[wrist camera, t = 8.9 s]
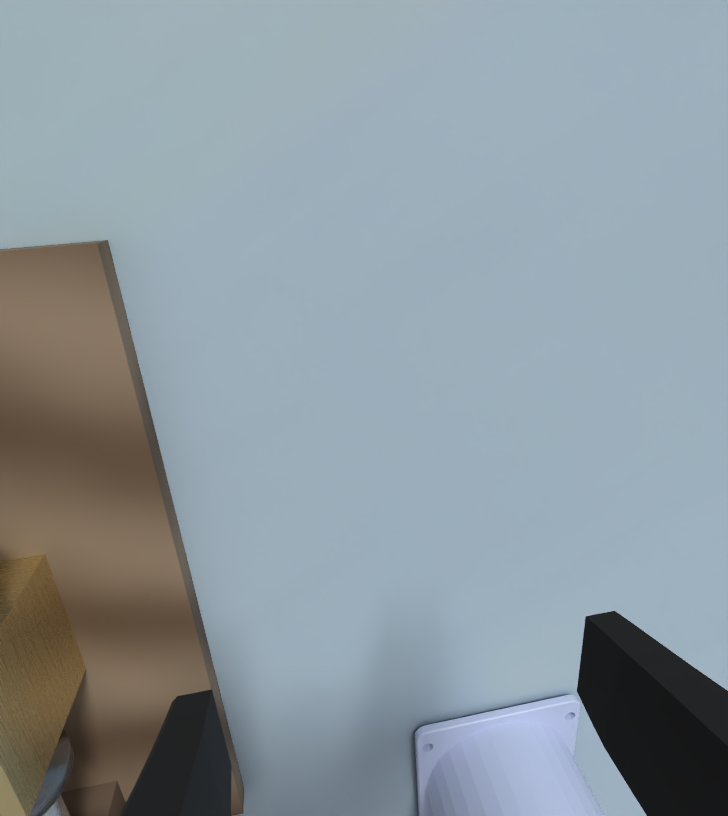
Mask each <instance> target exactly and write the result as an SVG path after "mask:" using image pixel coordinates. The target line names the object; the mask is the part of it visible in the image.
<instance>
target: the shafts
mask: <svg viewBox="0 0 728 816" xmlns="http://www.w3.org/2000/svg"><path fill="white" fill-rule="evenodd" d="M73 764H74V752H73V748H72V746H71V744H70V741H69V739H68V736H67V734H66V732H65V731H64V730H62V733H61V735H60V738H59V741H58V743H57V746H56V748H55V751H54V754H53V756H52V759H51V761H50V764H49V767H48V769H47V772H46V775H45V777H44V780H43V782H42V785H41V788H40V790H39V793H38V795H37V798H36V801H35V803H34V806H33V808H32V811H31V814H30V816H70V814H69V812H68V809H67V807H66V805H65V803H64V801H63V799H62V796H61V793H62V792H63V790H64V788H65V786H66V785H67V783H68V781H69V778H70V776H71V773H72V769H73Z"/></svg>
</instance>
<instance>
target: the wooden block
mask: <svg viewBox="0 0 728 816" xmlns="http://www.w3.org/2000/svg"><path fill="white" fill-rule="evenodd" d="M85 670H86V666H85V663H84V660H83V658H82V655H81V652H80V649H79V647H78V644H77V641H76V638H75V636H74V633H73V630H72V627H71V624H70V622H69V619H68V616H67V613H66V611H65V608H64V605H63V602H62V600H61V597H60V594H59V591H58V589H57V586H56V583H55V580H54V577H53V575H52V572H51V569H50V566H49V564H48V561H47V558H46V555H45V554H41V555H34V556H27V557H21V558H14V559H7V560H1V561H0V816H30V814H31V811H32V808H33V806H34V803H35V801H36V798H37V795H38V793H39V790H40V788H41V785H42V782H43V780H44V777H45V775H46V772H47V769H48V767H49V764H50V761H51V759H52V756H53V754H54V751H55V748H56V746H57V743H58V741H59V738H60V735H61V733H62V730H63V727H64V725H65V722H66V720H67V717H68V714H69V712H70V709H71V707H72V704H73V701H74V699H75V696H76V693H77V691H78V688H79V686H80V683H81V680H82V678H83V675H84V673H85Z"/></svg>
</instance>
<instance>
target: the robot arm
mask: <svg viewBox="0 0 728 816" xmlns="http://www.w3.org/2000/svg"><path fill="white" fill-rule="evenodd" d="M577 692H578V694H579V696H580V698H581V701H582V703H583V705H584V707H585V709H586V711H587V713H588V715H589V717H590V720H591V722H592V724H593V726H594V728H595V730H596V731H597V733H598V735H599V737H600V739H601V741H602V743H603V745H604V747H605V749H606V750H607V752H608V754H609V755H610V757H611V759H612V760H613V762H614V764H615V765H616V767H617V768H618V770H619V772H620V773H621V775H622V776H623V778H624V780H625V781H626V783H627V785H628V786H629V788H630V789H631V791H632V793H633V794H634V796H635V797H636V799H637V801H638V802H639V804H640V805H641V807H642V808H643V810H644V812H645V813H646V815H647V816H728V691H727V690H726V689H724V688H723V687H721V686H720V685H718V684H717V683H715V682H714V681H712V680H711V679H710V678H708V677H707V676H705V675H704V674H702V673H701V672H700V671H698V670H697V669H695V668H694V667H692V666H691V665H690V664H688V663H687V662H685V661H684V660H683V659H681V658H680V657H678V656H677V655H676V654H674V653H673V652H671V651H670V650H669V649H667V648H666V647H665V646H663V645H662V644H660V643H659V642H658V641H656V640H655V639H653V638H652V637H651V636H649V635H648V634H646V633H645V632H644V631H642V630H641V629H640V628H638V627H637V626H635V625H634V624H633V623H631V622H630V621H628V620H627V619H625V618H624V617H623V616H621V615H620V614H618V613H617V612H615V611H612V612H607V613H601V614H596V615H591V616H586V620H585V628H584V637H583V645H582V654H581V662H580V670H579V679H578V687H577ZM579 711H580V703H579V701H578V700H577V698H576V697H575V696H574V695H564V696H560V697H555V698H550V699H546V700H541V701H536V702H532V703H527V704H522V705H518V706H513V707H508V708H504V709H499V710H494V711H490V712H485V713H480V714H476V715H471V716H466V717H462V718H457V719H452V720H448V721H443V722H438V723H434V724H429V725H425V726H422V727H420V728H419V729H418V730H417V731H416V732H415V750H416V769H417V789H418V809H419V816H605V814H604V812H603V811H602V809H601V807H600V805H599V803H598V801H597V800H596V798H595V796H594V794H593V792H592V790H591V789H590V787H589V785H588V783H587V781H586V779H585V778H584V776H583V774H582V772H581V770H580V768H579V767H578V765H577V763H576V761H575V759H574V752H575V744H576V736H577V728H578V720H579ZM120 816H231V761H230V758H229V754H228V750H227V746H226V742H225V738H224V734H223V730H222V726H221V722H220V718H219V715H218V711H217V707H216V703H215V699H214V695H213V691H212V689H211V690H206V691H201V692H196V693H191V694H186V695H181V696H177V697H176V698H175V699H174V700H173V702H172V703H171V706H170V708H169V711H168V713H167V715H166V718H165V720H164V723H163V725H162V727H161V729H160V732H159V734H158V736H157V739H156V741H155V743H154V745H153V747H152V750H151V752H150V754H149V756H148V758H147V760H146V763H145V765H144V767H143V769H142V771H141V773H140V775H139V777H138V780H137V782H136V784H135V786H134V788H133V790H132V792H131V794H130V796H129V798H128V800H127V802H126V804H125V806H124V808H123V810H122V812H121V814H120Z"/></svg>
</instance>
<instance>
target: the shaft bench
mask: <svg viewBox="0 0 728 816" xmlns="http://www.w3.org/2000/svg"><path fill="white" fill-rule="evenodd" d="M41 554H45V555H46V558H47V561H48V564H49V566H50V569H51V572H52V575H53V577H54V580H55V583H56V586H57V589H58V591H59V594H60V597H61V600H62V602H63V605H64V608H65V611H66V613H67V616H68V619H69V622H70V624H71V627H72V630H73V633H74V636H75V638H76V641H77V644H78V647H79V649H80V652H81V655H82V658H83V660H84V663H85V666H86V670H85V673H84V675H83V678H82V680H81V683H80V686H79V688H78V691H77V693H76V696H75V699H74V701H73V704H72V707H71V709H70V712H69V714H68V717H67V720H66V722H65V725H64V727H63V730H64V731H65V732H66V734H67V736H68V739H69V741H70V744H71V746H72V748H73V752H74V764H73V769H72V773H71V776H70V778H69V781H68V783H67V785H66V786H65V788H64V790H63V792H62V793H61V796H62V799H63V801H64V803H65V805H66V807H67V809H68V812H69V814H70V816H120V814H121V812H122V810H123V808H124V806H125V804H126V802H127V800H128V798H129V796H130V794H131V792H132V790H133V788H134V786H135V784H136V782H137V780H138V777H139V775H140V773H141V771H142V769H143V767H144V765H145V763H146V760H147V758H148V756H149V754H150V752H151V750H152V747H153V745H154V743H155V741H156V739H157V736H158V734H159V732H160V729H161V727H162V725H163V723H164V720H165V718H166V715H167V713H168V711H169V708H170V706H171V703H172V702H173V700H174V699H175V698H176V697H177V696H181V695H186V694H191V693H196V692H201V691H206V690H211V689H212V691H213V695H214V699H215V703H216V707H217V711H218V715H219V718H220V722H221V726H222V730H223V734H224V738H225V742H226V746H227V750H228V754H229V758H230V761H231V816H233V815H237V814H241V813H243V804H244V787H243V783H242V779H241V775H240V771H239V767H238V763H237V759H236V755H235V751H234V747H233V743H232V739H231V735H230V731H229V727H228V723H227V719H226V715H225V711H224V707H223V703H222V699H221V695H220V691H219V687H218V683H217V679H216V675H215V670H214V666H213V662H212V658H211V654H210V650H209V646H208V642H207V638H206V634H205V630H204V626H203V622H202V618H201V614H200V610H199V606H198V602H197V598H196V594H195V590H194V586H193V582H192V578H191V574H190V570H189V566H188V562H187V558H186V554H185V550H184V546H183V542H182V538H181V534H180V530H179V526H178V521H177V517H176V513H175V509H174V505H173V501H172V497H171V493H170V489H169V485H168V481H167V477H166V473H165V469H164V465H163V461H162V457H161V453H160V449H159V445H158V441H157V437H156V433H155V429H154V425H153V421H152V417H151V413H150V409H149V405H148V401H147V397H146V393H145V389H144V385H143V381H142V377H141V373H140V368H139V364H138V360H137V356H136V352H135V348H134V344H133V340H132V336H131V332H130V328H129V324H128V320H127V316H126V312H125V308H124V304H123V300H122V296H121V292H120V288H119V284H118V280H117V276H116V272H115V268H114V264H113V260H112V256H111V252H110V248H109V244H108V240H106V241H94V242H82V243H71V244H59V245H47V246H36V247H24V248H12V249H0V561H1V560H7V559H14V558H21V557H27V556H34V555H41Z"/></svg>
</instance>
